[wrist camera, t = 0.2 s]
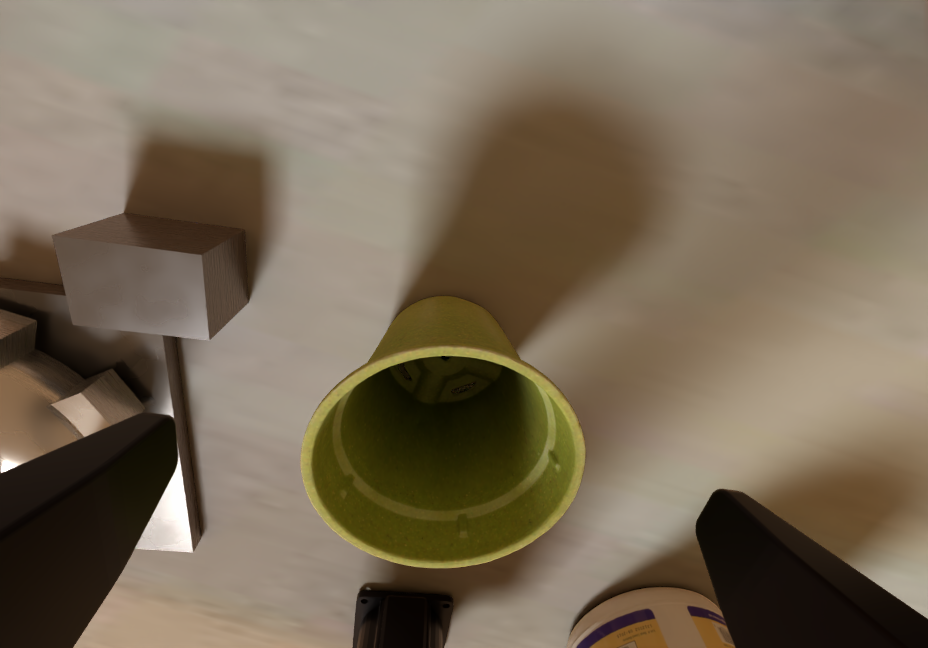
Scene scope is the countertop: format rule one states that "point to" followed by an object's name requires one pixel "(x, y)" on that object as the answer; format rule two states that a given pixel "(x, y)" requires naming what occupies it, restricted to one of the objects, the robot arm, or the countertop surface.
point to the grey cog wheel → (50, 397)
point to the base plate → (145, 373)
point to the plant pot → (443, 444)
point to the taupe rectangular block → (153, 275)
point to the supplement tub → (653, 622)
